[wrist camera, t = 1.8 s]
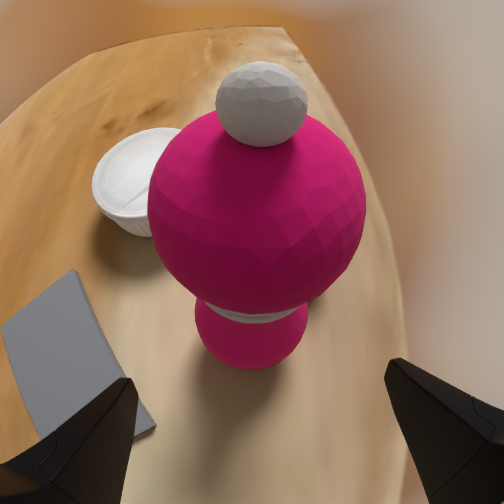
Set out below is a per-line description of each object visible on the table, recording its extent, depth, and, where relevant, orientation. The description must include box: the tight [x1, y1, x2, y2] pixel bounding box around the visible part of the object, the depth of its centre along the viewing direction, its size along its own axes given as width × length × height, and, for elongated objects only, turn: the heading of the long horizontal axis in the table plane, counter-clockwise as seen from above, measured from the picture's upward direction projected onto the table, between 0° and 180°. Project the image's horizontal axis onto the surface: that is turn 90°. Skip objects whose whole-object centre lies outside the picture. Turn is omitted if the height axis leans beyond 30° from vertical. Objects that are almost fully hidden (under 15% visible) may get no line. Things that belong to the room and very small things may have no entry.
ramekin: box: [92, 128, 182, 237], centre depth 25 cm, size 11×11×5 cm
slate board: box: [1, 269, 156, 440], centre depth 19 cm, size 16×12×1 cm
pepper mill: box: [147, 61, 366, 369], centre depth 13 cm, size 7×7×20 cm
